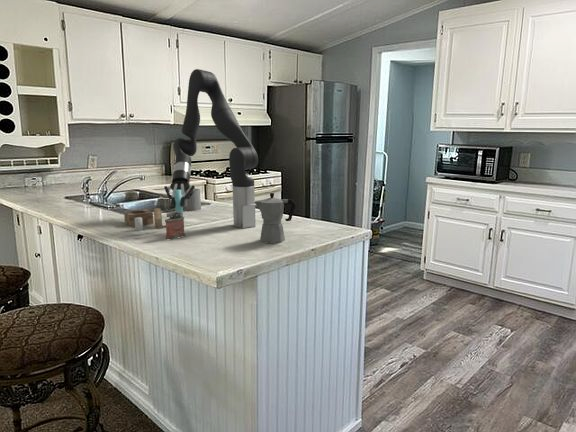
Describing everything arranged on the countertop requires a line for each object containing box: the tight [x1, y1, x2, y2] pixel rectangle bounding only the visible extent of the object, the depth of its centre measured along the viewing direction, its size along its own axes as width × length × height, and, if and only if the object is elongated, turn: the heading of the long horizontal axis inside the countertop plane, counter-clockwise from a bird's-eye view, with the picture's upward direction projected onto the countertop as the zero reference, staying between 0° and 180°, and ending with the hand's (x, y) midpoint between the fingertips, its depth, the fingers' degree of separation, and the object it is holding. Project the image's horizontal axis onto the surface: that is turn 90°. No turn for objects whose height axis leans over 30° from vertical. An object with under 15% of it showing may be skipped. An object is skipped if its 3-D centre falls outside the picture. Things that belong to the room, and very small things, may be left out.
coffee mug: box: [182, 188, 202, 212], centre depth 220 cm, size 13×10×10 cm
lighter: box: [164, 211, 186, 240], centre depth 165 cm, size 8×3×10 cm, turn 141°
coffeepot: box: [254, 192, 297, 244], centre depth 159 cm, size 15×9×18 cm, turn 90°
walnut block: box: [123, 208, 155, 228], centre depth 190 cm, size 10×10×5 cm
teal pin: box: [174, 190, 184, 217], centre depth 185 cm, size 3×3×12 cm
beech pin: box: [153, 207, 163, 229], centre depth 182 cm, size 3×3×8 cm
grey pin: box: [134, 217, 144, 232], centre depth 178 cm, size 3×3×5 cm
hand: (177, 205), depth 183 cm, fingers closed on teal pin, 3 cm apart
